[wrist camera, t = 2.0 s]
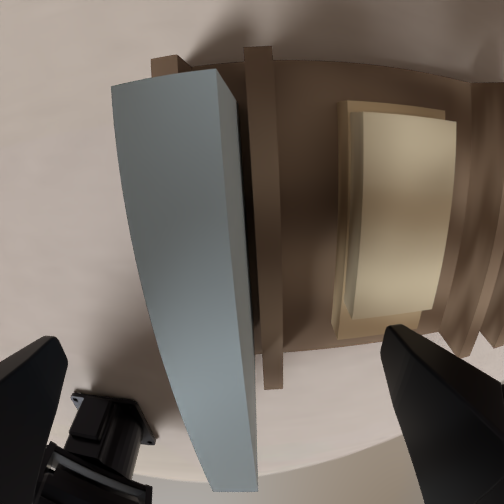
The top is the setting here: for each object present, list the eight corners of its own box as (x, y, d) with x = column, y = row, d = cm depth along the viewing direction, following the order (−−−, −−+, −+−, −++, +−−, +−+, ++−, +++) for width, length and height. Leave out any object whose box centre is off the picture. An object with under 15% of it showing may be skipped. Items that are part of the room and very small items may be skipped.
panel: (253, 328, 18) (257, 491, 9) (226, 329, 18) (213, 491, 9) (238, 103, 13) (216, 68, 4) (202, 107, 13) (110, 86, 4)
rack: (476, 314, 19) (502, 345, 16) (208, 345, 20) (201, 391, 16) (507, 97, 13) (550, 101, 9) (174, 72, 13) (150, 59, 10)
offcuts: (406, 313, 18) (428, 345, 15) (331, 322, 18) (344, 359, 15) (428, 110, 13) (464, 112, 10) (337, 102, 13) (359, 98, 10)
